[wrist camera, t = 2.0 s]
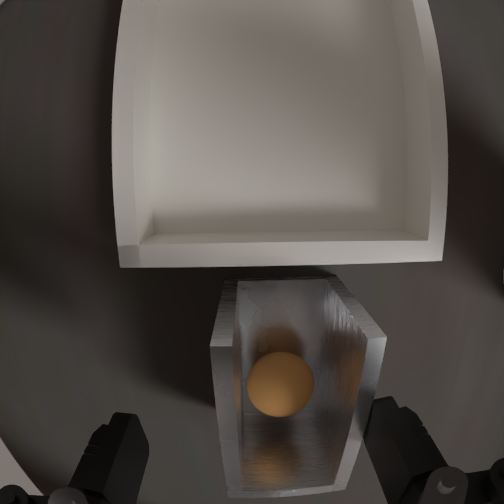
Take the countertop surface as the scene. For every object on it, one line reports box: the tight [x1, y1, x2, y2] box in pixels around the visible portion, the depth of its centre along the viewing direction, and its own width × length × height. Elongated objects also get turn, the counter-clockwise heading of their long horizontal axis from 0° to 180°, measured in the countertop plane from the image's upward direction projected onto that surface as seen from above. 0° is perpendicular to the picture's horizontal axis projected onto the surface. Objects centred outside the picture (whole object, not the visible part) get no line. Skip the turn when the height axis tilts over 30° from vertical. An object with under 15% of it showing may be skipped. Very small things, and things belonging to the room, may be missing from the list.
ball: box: [246, 352, 314, 417], centre depth 13 cm, size 3×3×3 cm
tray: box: [112, 0, 448, 268], centre depth 10 cm, size 15×12×3 cm
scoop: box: [210, 276, 387, 498], centre depth 12 cm, size 8×5×6 cm, turn 1°
